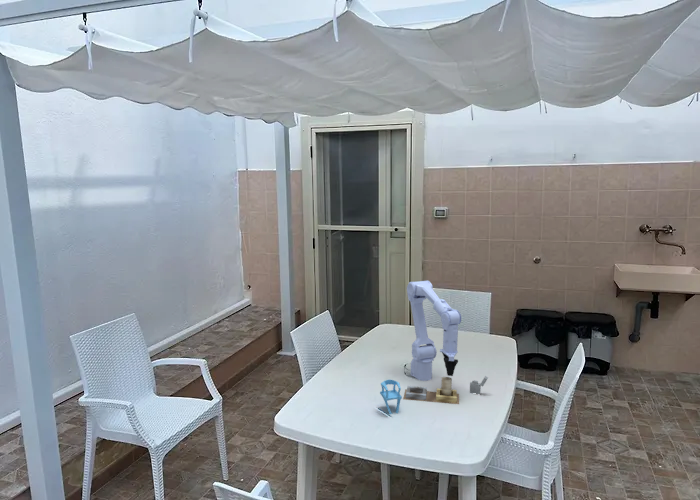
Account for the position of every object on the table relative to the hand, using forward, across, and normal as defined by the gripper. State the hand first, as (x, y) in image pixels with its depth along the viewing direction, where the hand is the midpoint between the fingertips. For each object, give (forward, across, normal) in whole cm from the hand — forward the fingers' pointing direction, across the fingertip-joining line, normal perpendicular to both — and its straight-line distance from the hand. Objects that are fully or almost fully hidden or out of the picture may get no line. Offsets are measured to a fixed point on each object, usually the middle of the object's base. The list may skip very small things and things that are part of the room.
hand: (449, 371), depth 205 cm
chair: (+10, +17, -23) cm, 31 cm away
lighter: (+10, -4, +13) cm, 17 cm away
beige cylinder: (+9, +4, -1) cm, 10 cm away
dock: (+10, +4, -7) cm, 13 cm away
